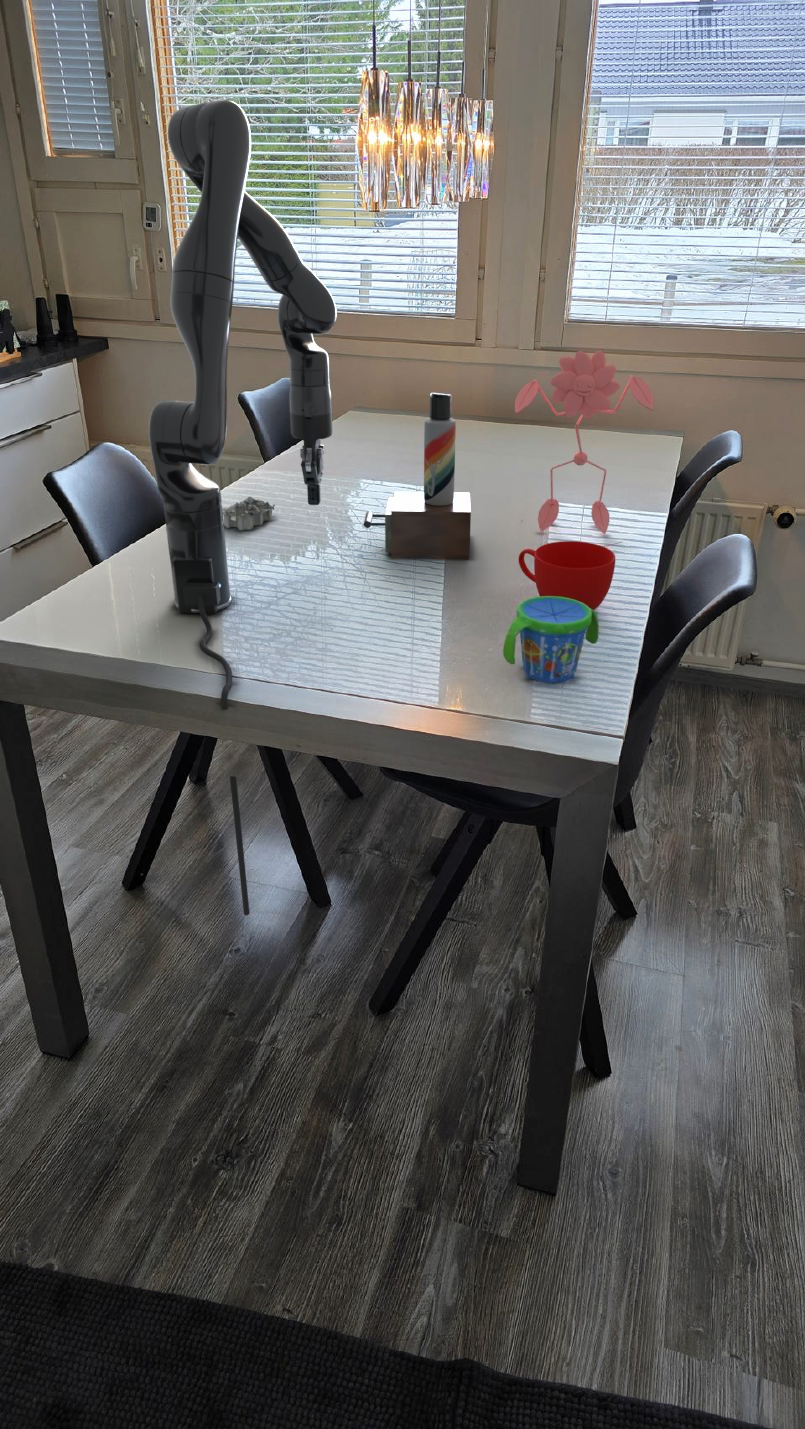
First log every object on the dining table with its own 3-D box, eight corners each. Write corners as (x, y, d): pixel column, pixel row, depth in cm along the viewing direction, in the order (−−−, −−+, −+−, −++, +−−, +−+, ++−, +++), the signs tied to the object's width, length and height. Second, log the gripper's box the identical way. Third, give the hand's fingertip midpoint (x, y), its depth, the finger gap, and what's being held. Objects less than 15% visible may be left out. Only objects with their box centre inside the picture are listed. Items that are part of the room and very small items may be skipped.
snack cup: (575, 650, 153) (581, 587, 148) (614, 678, 145) (622, 614, 140) (484, 668, 148) (487, 604, 143) (520, 699, 139) (524, 632, 134)
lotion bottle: (418, 503, 187) (419, 393, 178) (432, 495, 192) (433, 388, 182) (445, 508, 185) (448, 397, 175) (458, 499, 190) (461, 391, 180)
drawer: (363, 552, 188) (362, 514, 185) (367, 533, 198) (366, 497, 194) (457, 553, 188) (458, 515, 184) (456, 534, 197) (457, 498, 194)
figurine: (510, 520, 207) (519, 342, 190) (637, 527, 203) (658, 346, 186) (503, 545, 194) (512, 356, 177) (639, 553, 190) (661, 361, 173)
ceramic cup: (537, 585, 176) (541, 530, 171) (624, 609, 167) (630, 552, 162) (495, 608, 167) (498, 551, 162) (584, 634, 158) (589, 575, 153)
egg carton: (245, 532, 201) (244, 513, 199) (217, 526, 205) (215, 506, 203) (279, 518, 209) (277, 499, 207) (251, 512, 212) (249, 493, 210)
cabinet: (391, 558, 188) (391, 511, 184) (394, 536, 199) (394, 491, 194) (469, 559, 188) (470, 512, 183) (468, 537, 198) (469, 492, 194)
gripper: (295, 402, 186) (299, 494, 194) (284, 416, 174) (289, 514, 182) (335, 402, 186) (338, 494, 194) (327, 417, 174) (330, 514, 182)
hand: (314, 503), depth 188 cm, fingers closed
